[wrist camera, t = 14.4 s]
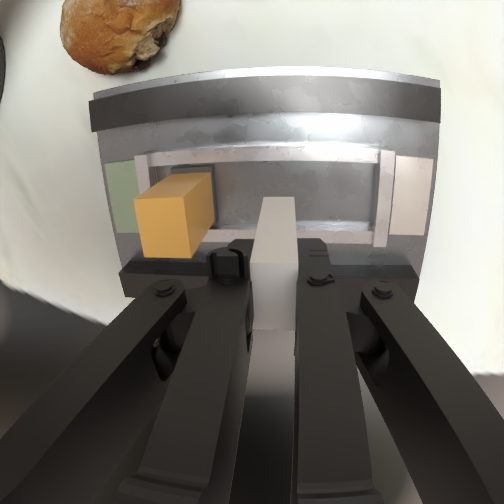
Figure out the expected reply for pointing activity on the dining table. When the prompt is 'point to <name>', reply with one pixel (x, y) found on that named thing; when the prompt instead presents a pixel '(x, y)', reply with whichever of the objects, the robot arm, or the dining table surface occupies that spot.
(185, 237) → the lever
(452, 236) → the dining table surface
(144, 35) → the bread roll
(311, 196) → the panel
